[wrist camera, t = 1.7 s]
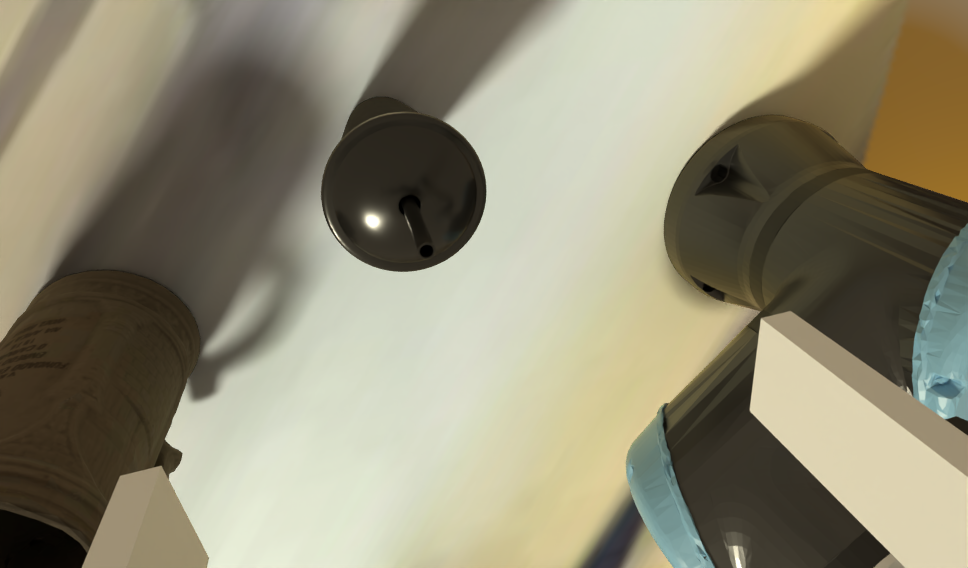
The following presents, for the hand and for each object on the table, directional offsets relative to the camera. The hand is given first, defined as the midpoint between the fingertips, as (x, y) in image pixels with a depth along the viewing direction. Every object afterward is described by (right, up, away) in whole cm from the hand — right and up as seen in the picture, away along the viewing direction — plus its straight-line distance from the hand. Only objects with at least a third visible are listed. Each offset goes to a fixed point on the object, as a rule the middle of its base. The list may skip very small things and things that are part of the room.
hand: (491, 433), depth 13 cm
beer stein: (-25, -2, +30) cm, 39 cm away
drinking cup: (-7, +13, +26) cm, 30 cm away
